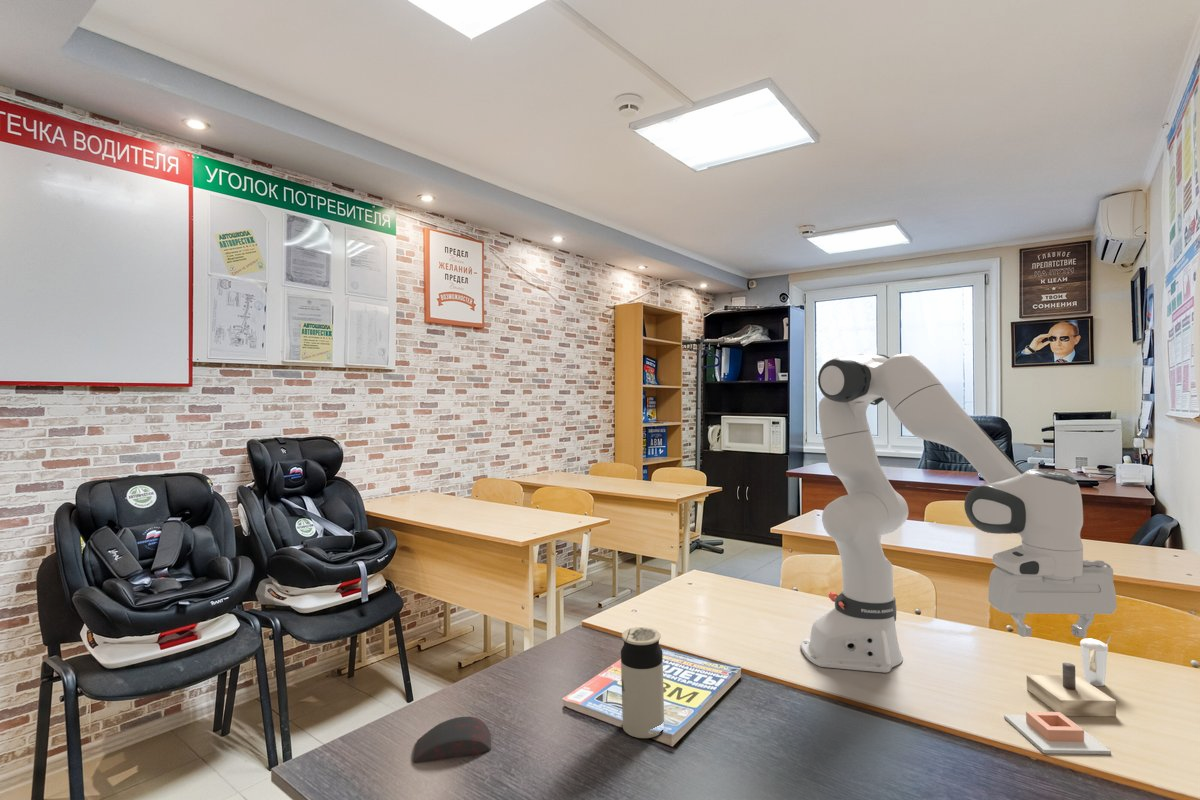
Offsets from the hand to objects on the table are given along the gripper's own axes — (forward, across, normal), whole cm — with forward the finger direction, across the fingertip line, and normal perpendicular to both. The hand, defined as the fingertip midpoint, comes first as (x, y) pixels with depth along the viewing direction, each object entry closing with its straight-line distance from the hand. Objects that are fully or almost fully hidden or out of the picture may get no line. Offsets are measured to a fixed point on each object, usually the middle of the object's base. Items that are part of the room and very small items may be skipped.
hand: (1051, 635), depth 106 cm
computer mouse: (+20, +109, +7) cm, 111 cm away
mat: (+18, 0, 0) cm, 18 cm away
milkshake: (+18, -22, -19) cm, 34 cm away
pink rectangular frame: (+17, 0, 0) cm, 17 cm away
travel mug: (+19, +74, 0) cm, 77 cm away
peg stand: (+18, -11, -11) cm, 24 cm away
